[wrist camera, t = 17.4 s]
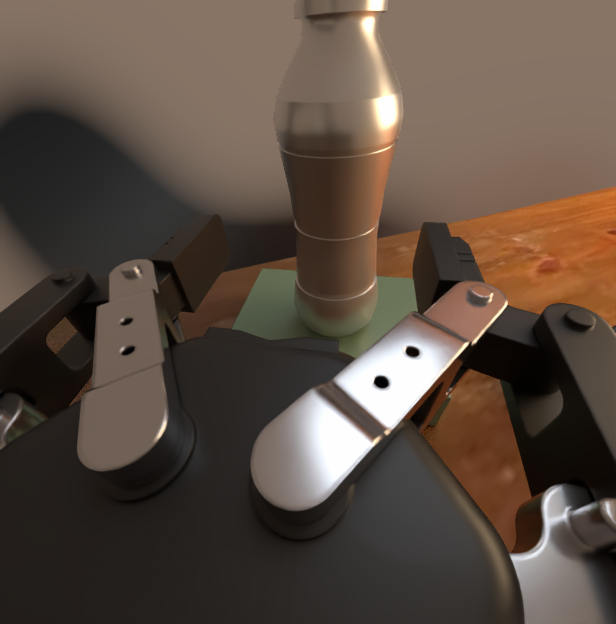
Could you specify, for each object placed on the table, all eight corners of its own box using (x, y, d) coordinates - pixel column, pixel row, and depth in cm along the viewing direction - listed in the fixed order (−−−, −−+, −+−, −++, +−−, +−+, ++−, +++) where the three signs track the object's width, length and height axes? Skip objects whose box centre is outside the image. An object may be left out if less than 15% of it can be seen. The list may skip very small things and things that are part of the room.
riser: (224, 394, 24) (211, 366, 22) (267, 296, 34) (262, 268, 31) (435, 425, 22) (451, 398, 19) (419, 309, 31) (428, 279, 28)
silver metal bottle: (390, 330, 23) (477, -73, 10) (315, 360, 22) (292, -83, 8) (350, 286, 28) (371, -34, 14) (285, 308, 26) (236, -35, 12)
